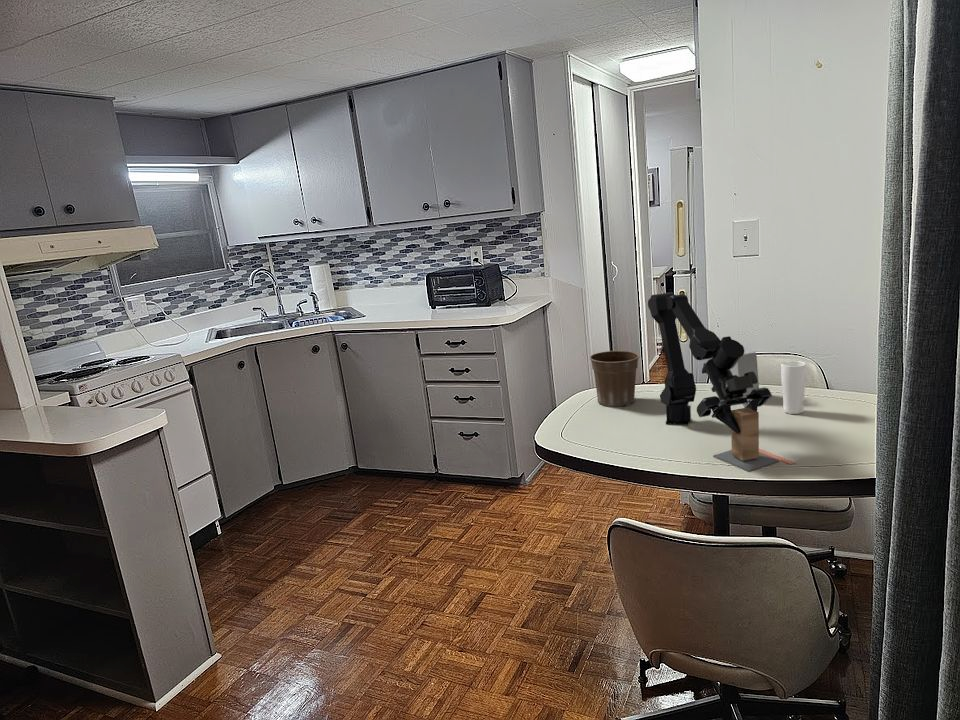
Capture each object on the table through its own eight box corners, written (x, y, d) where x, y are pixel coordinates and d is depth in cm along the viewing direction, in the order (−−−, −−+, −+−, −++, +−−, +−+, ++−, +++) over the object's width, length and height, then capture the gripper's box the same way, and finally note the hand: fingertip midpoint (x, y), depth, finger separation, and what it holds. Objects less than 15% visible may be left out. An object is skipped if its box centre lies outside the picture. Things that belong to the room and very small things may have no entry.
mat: (713, 456, 173) (713, 455, 173) (742, 447, 177) (742, 446, 177) (748, 471, 163) (748, 470, 162) (778, 461, 166) (778, 460, 166)
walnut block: (731, 454, 171) (731, 410, 169) (747, 451, 172) (747, 407, 170) (742, 460, 167) (742, 415, 164) (758, 457, 168) (758, 412, 165)
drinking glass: (805, 408, 201) (806, 360, 198) (805, 416, 195) (806, 366, 192) (781, 408, 204) (781, 360, 201) (780, 415, 198) (780, 366, 195)
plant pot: (641, 394, 232) (639, 349, 228) (641, 408, 217) (639, 360, 213) (594, 395, 236) (591, 351, 232) (591, 410, 221) (588, 362, 217)
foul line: (735, 444, 180) (735, 443, 180) (739, 442, 181) (739, 441, 181) (790, 464, 164) (790, 463, 164) (795, 463, 165) (795, 462, 164)
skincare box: (760, 400, 213) (760, 352, 209) (737, 402, 213) (737, 354, 209) (750, 393, 221) (749, 346, 217) (728, 395, 221) (727, 349, 217)
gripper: (701, 367, 166) (728, 422, 158) (767, 356, 170) (796, 409, 162) (685, 390, 175) (710, 443, 167) (748, 379, 179) (775, 430, 171)
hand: (748, 431), depth 167 cm, fingers open, 5 cm apart
